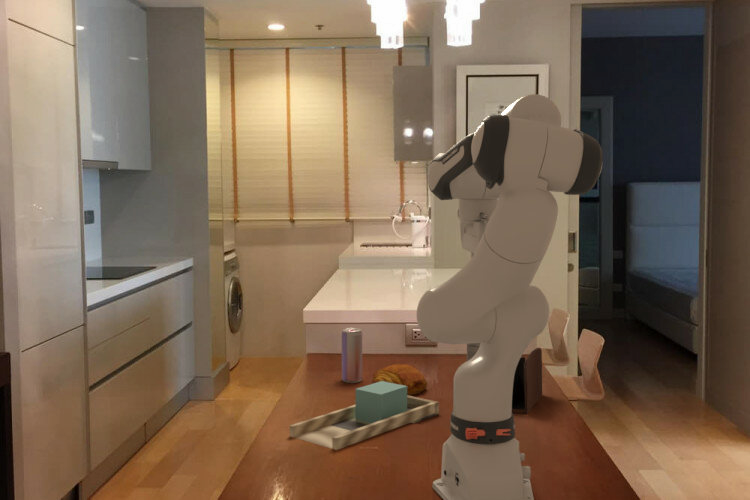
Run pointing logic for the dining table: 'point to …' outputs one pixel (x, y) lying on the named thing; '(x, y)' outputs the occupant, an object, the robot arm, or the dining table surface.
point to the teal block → (380, 401)
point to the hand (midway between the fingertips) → (477, 272)
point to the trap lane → (358, 424)
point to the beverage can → (351, 355)
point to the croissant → (402, 377)
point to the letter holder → (527, 382)
